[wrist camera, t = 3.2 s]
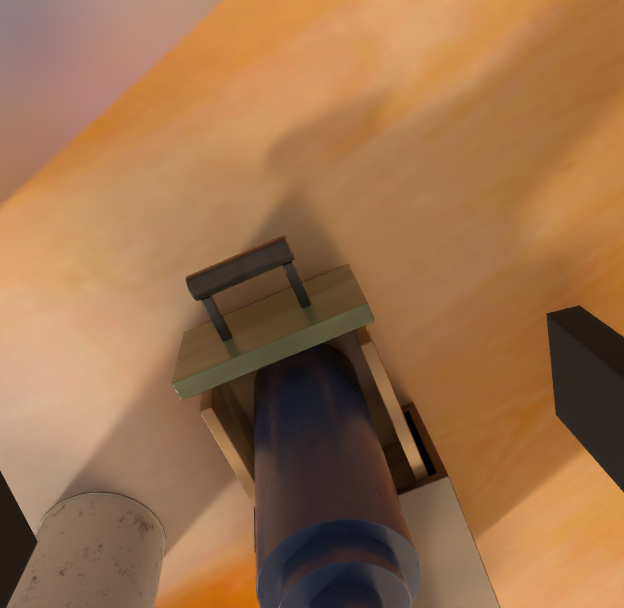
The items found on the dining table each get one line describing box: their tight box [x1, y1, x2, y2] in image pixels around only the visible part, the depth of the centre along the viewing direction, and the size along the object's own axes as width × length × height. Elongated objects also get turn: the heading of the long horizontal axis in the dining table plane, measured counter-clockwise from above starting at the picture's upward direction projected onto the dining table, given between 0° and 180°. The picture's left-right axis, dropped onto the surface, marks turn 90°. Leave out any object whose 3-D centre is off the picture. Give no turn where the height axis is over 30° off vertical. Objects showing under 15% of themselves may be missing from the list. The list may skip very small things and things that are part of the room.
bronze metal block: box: [254, 403, 500, 608], centre depth 42 cm, size 15×13×8 cm
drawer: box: [172, 235, 429, 506], centre depth 37 cm, size 19×12×7 cm, turn 23°
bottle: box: [254, 343, 422, 608], centre depth 29 cm, size 7×7×22 cm
